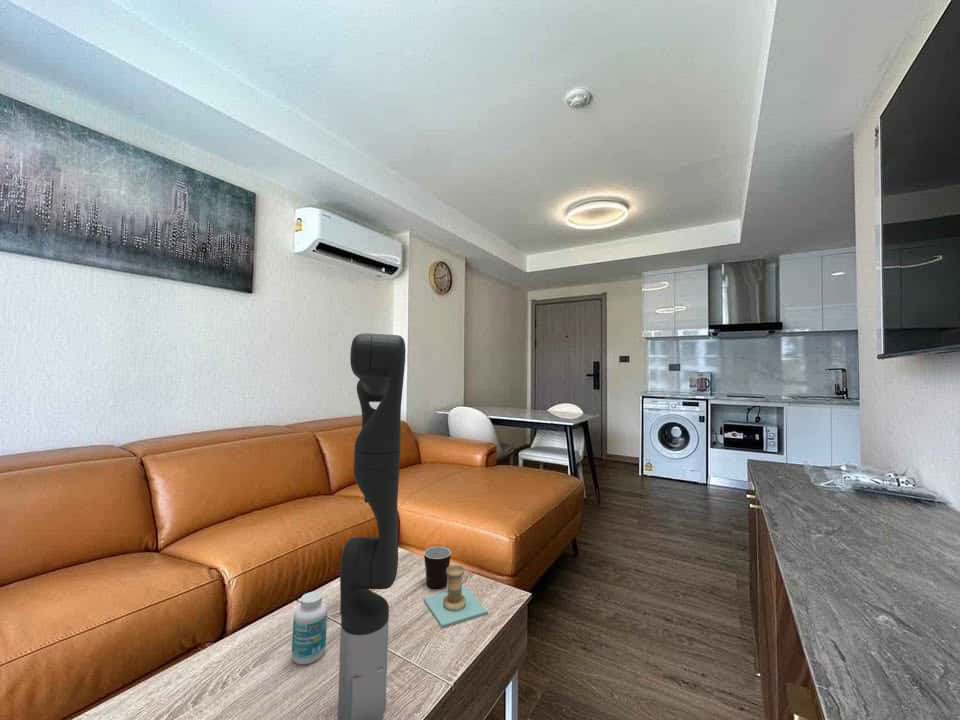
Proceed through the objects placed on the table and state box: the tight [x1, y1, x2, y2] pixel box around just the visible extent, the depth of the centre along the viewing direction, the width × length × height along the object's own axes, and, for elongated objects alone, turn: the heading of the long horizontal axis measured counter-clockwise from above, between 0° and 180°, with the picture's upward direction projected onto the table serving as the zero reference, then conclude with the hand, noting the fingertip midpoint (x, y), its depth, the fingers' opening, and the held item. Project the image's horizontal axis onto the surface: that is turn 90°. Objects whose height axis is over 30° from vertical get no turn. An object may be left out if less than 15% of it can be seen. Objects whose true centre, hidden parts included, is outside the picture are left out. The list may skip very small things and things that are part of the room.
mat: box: [422, 586, 489, 629], centre depth 113 cm, size 14×14×1 cm
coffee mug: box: [423, 546, 452, 591], centre depth 127 cm, size 12×9×10 cm
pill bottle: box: [291, 591, 328, 665], centre depth 93 cm, size 8×7×14 cm
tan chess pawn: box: [443, 564, 465, 611], centre depth 113 cm, size 6×6×10 cm
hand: (371, 506), depth 109 cm, fingers open, 8 cm apart
